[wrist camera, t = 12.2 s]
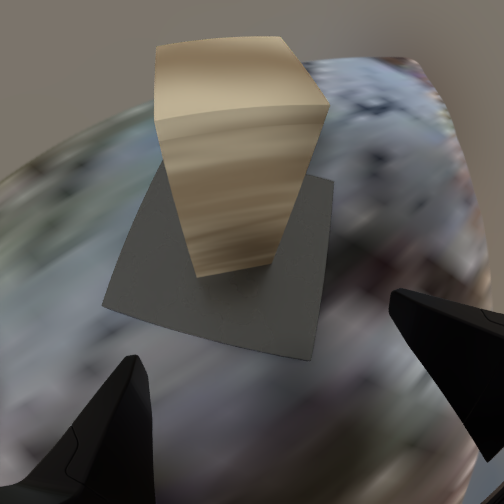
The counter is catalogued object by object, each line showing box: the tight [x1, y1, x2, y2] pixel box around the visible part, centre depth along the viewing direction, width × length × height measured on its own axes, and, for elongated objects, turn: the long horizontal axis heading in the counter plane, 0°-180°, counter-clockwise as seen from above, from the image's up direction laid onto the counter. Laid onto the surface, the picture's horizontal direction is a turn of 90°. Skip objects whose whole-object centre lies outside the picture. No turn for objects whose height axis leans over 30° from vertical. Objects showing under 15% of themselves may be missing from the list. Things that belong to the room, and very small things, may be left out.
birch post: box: [154, 37, 330, 278], centre depth 14 cm, size 5×5×13 cm
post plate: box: [102, 160, 334, 361], centre depth 19 cm, size 14×14×4 cm
